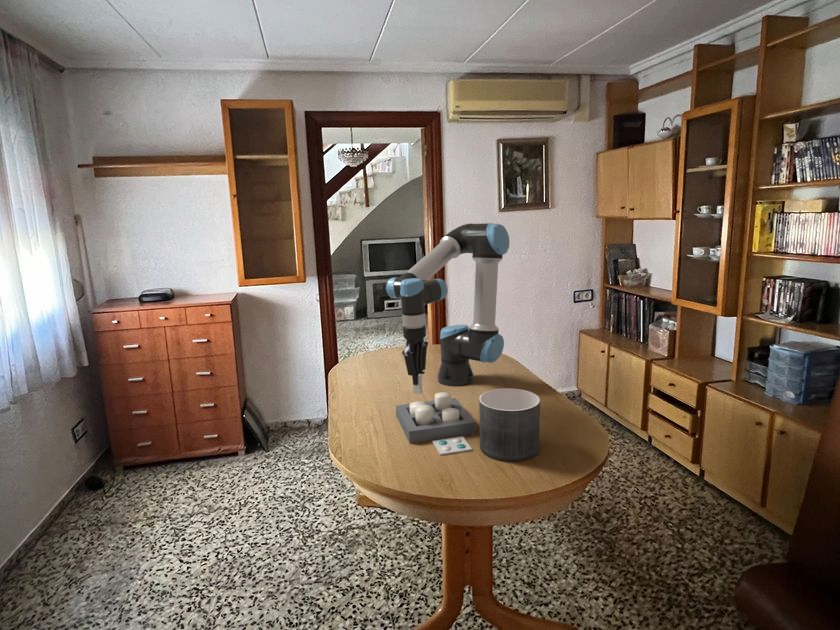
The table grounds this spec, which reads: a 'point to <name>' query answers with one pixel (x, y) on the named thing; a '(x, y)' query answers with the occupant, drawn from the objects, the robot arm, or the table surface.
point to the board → (435, 424)
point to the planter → (509, 424)
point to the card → (451, 445)
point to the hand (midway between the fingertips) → (418, 392)
